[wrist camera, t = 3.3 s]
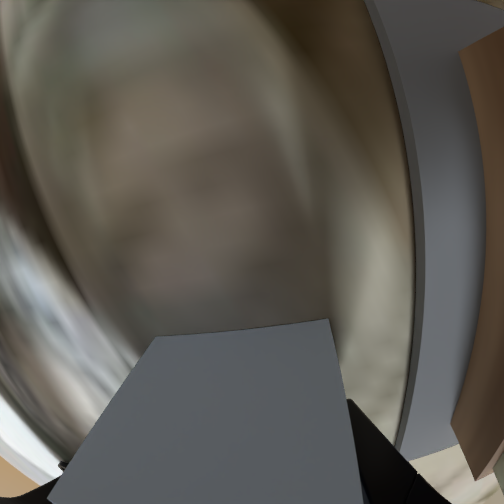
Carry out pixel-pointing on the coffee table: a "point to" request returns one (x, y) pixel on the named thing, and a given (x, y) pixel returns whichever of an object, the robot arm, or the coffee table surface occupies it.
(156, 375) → the top block
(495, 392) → the plinth
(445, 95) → the grey square plate
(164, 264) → the coffee table surface
